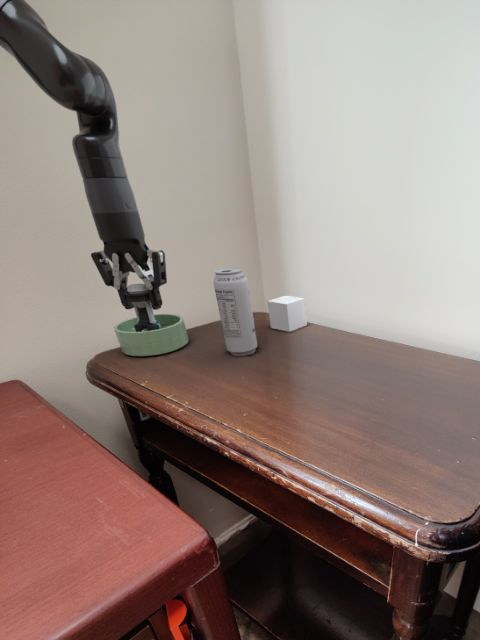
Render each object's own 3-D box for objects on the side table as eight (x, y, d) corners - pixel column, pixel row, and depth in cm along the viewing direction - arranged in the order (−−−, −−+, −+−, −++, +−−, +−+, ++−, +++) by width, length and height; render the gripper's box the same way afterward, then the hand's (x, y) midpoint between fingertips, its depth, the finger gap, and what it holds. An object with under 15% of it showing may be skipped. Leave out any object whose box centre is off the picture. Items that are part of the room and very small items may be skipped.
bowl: (108, 357, 79) (99, 332, 76) (145, 336, 89) (138, 313, 87) (169, 358, 77) (162, 333, 74) (199, 336, 87) (194, 314, 85)
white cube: (289, 332, 88) (286, 304, 85) (270, 327, 91) (267, 301, 88) (307, 325, 92) (305, 298, 89) (288, 321, 95) (285, 295, 92)
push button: (126, 339, 80) (109, 287, 75) (143, 331, 85) (128, 282, 79) (153, 341, 79) (139, 289, 73) (170, 333, 83) (157, 283, 78)
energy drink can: (264, 351, 78) (252, 269, 70) (237, 359, 75) (221, 275, 66) (248, 344, 82) (234, 266, 74) (222, 352, 79) (205, 271, 70)
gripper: (163, 207, 71) (185, 304, 81) (92, 209, 73) (122, 303, 83) (139, 209, 65) (167, 314, 74) (63, 211, 67) (99, 313, 77)
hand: (143, 308), depth 78 cm, fingers closed on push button, 5 cm apart
